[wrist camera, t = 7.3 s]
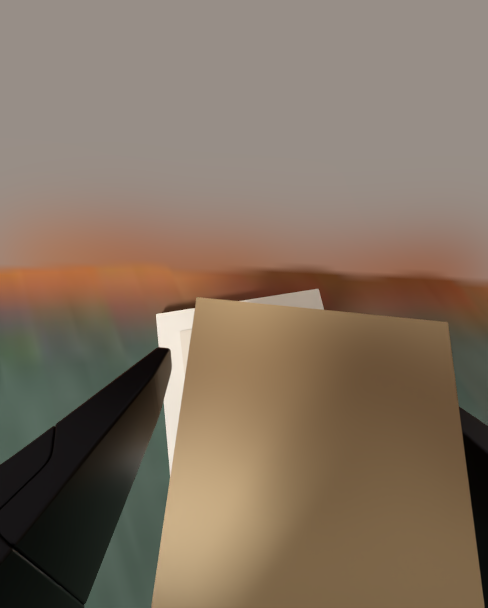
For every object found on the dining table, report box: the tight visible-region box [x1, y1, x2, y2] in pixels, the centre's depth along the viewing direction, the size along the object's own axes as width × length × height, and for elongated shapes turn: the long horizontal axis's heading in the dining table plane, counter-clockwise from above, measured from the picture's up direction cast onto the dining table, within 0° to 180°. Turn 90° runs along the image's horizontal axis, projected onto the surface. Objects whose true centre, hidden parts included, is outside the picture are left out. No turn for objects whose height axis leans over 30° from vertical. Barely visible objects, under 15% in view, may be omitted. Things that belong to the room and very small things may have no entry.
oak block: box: [151, 297, 485, 608], centre depth 10 cm, size 5×5×12 cm
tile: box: [156, 289, 324, 476], centre depth 16 cm, size 12×12×1 cm
